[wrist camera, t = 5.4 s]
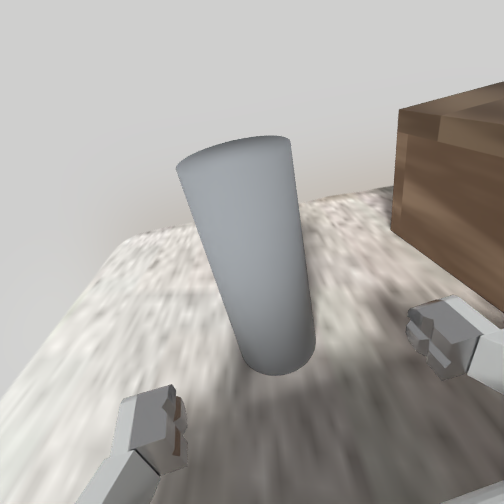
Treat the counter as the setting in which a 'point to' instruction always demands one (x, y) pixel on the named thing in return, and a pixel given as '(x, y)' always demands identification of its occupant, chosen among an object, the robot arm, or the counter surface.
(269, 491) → the counter surface
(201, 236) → the grey rubber peg
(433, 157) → the walnut drop box
